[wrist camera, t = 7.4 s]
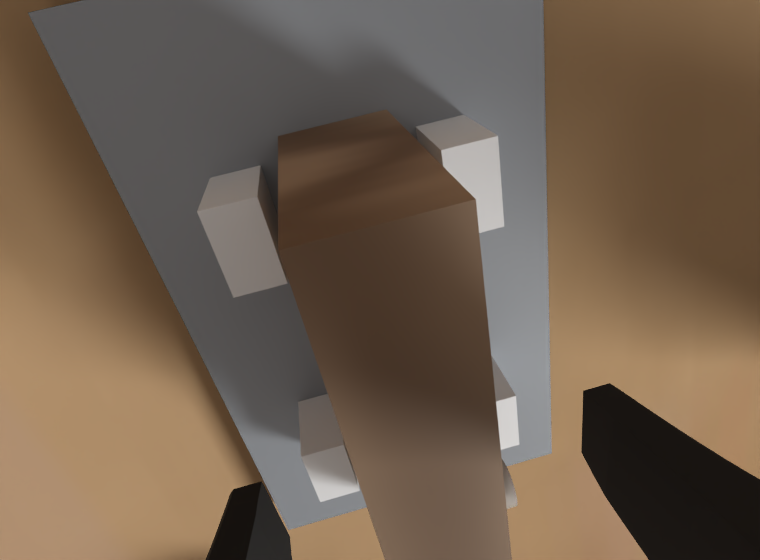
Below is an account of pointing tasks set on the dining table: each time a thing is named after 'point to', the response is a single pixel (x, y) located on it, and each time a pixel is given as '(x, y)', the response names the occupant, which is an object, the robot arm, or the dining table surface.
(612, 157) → the dining table surface
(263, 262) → the hinge board
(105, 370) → the dining table surface
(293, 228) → the cabinet door
